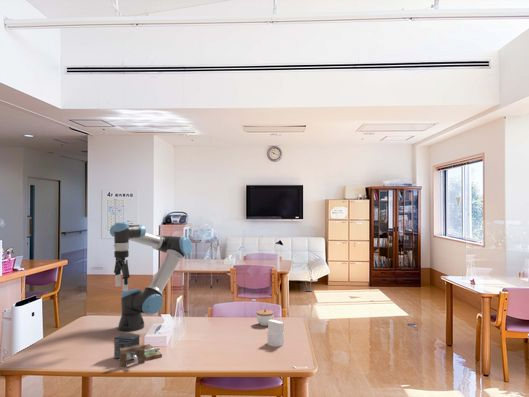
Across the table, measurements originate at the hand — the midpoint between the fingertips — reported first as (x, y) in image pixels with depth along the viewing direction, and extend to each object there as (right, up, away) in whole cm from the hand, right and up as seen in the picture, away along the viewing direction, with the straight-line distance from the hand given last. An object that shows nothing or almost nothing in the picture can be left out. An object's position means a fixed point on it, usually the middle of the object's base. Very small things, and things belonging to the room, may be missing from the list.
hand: (121, 288), depth 233 cm
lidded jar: (+80, -29, +30) cm, 90 cm away
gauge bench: (+16, -28, -26) cm, 41 cm away
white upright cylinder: (+86, -29, -6) cm, 91 cm away
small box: (+12, -29, -27) cm, 41 cm away
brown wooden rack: (+22, -27, -34) cm, 48 cm away
